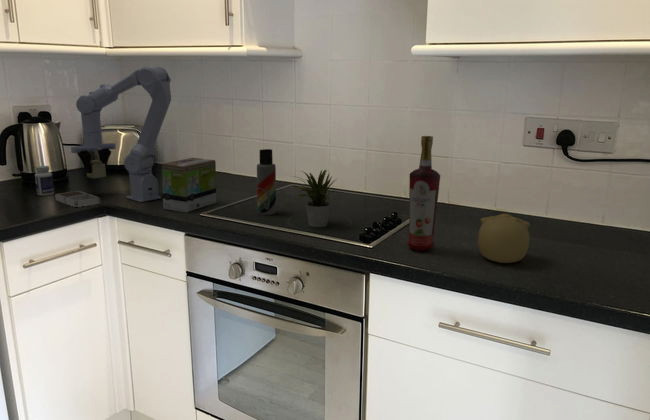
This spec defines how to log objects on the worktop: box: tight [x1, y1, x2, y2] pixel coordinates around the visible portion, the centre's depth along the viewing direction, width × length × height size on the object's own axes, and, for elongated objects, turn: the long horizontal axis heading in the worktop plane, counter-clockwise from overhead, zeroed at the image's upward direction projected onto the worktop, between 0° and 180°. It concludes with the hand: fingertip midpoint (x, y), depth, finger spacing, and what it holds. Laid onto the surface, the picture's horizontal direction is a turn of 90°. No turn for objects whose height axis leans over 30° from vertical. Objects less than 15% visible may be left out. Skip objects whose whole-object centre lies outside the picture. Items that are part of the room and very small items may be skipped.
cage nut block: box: [86, 159, 107, 179], centre depth 181 cm, size 4×4×6 cm
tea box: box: [161, 157, 217, 213], centre depth 169 cm, size 15×10×15 cm, turn 155°
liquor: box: [406, 135, 441, 253], centre depth 128 cm, size 7×7×28 cm
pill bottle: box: [34, 165, 55, 197], centre depth 183 cm, size 5×5×10 cm
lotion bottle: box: [256, 148, 277, 216], centre depth 161 cm, size 6×6×20 cm
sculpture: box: [477, 213, 531, 264], centre depth 124 cm, size 11×12×11 cm
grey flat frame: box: [54, 190, 101, 208], centre depth 174 cm, size 15×8×2 cm, turn 49°
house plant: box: [291, 169, 338, 228], centre depth 151 cm, size 14×14×16 cm
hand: (96, 172), depth 181 cm, fingers closed on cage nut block, 4 cm apart
